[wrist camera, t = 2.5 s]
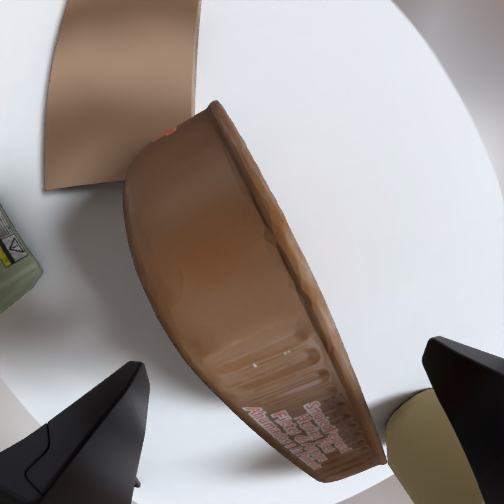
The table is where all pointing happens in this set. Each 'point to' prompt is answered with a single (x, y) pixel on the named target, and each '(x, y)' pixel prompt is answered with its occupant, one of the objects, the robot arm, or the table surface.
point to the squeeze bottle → (429, 454)
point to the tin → (244, 297)
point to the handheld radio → (14, 265)
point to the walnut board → (117, 85)
